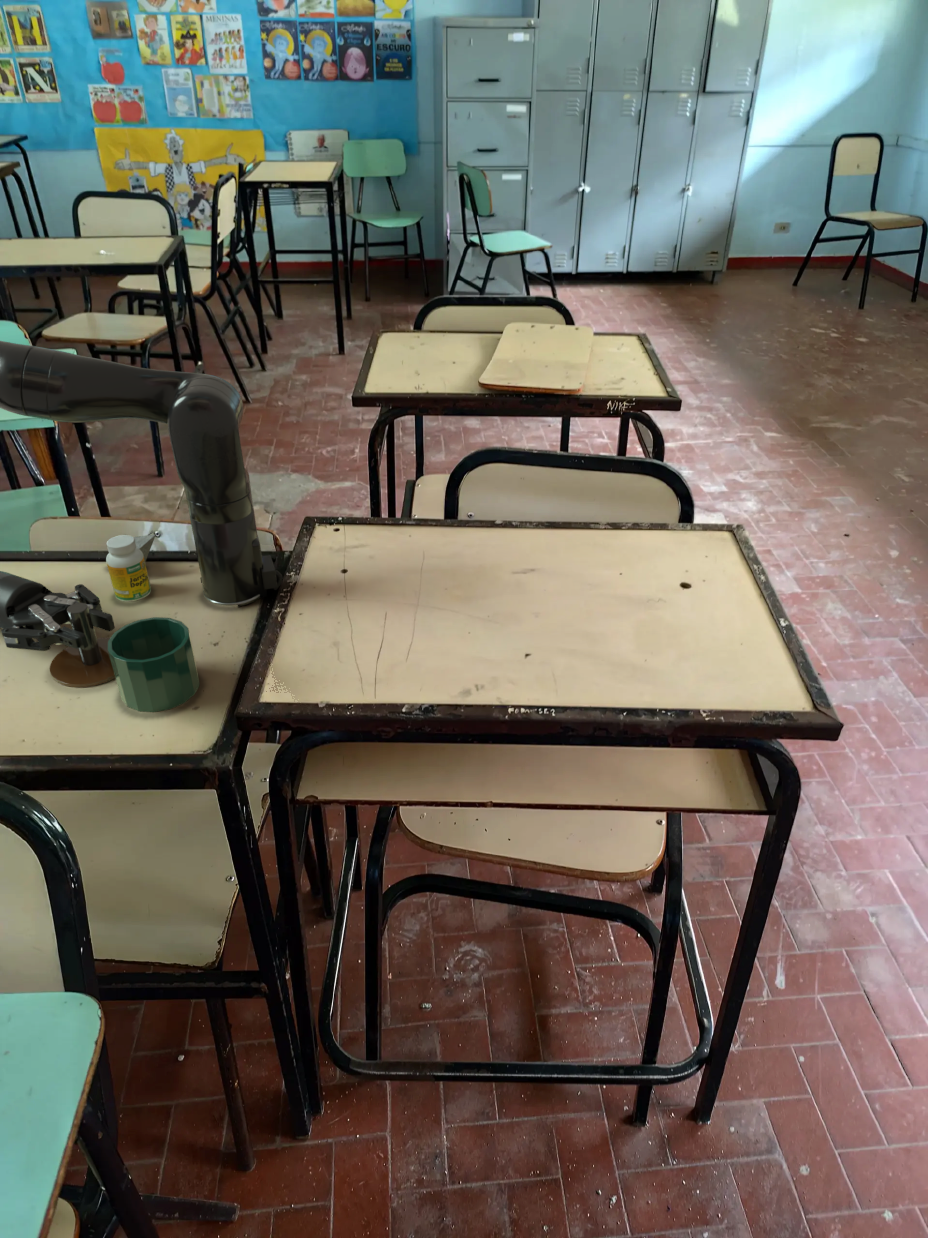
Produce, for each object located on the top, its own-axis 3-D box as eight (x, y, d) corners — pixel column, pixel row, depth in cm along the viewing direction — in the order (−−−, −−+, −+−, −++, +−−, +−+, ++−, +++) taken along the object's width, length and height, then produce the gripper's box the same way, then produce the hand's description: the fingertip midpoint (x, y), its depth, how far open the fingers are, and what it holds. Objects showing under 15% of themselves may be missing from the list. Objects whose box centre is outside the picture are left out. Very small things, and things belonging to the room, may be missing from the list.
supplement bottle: (131, 583, 134) (118, 529, 129) (159, 590, 133) (147, 536, 127) (108, 600, 130) (93, 545, 125) (136, 607, 129) (122, 552, 123)
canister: (196, 663, 117) (186, 611, 112) (202, 706, 109) (191, 653, 105) (121, 676, 114) (107, 624, 110) (122, 721, 107) (107, 668, 102)
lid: (134, 637, 122) (120, 580, 117) (136, 682, 114) (120, 622, 108) (53, 651, 119) (35, 593, 114) (49, 697, 111) (29, 637, 105)
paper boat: (85, 559, 138) (124, 524, 143) (115, 588, 141) (151, 552, 146) (113, 544, 129) (153, 507, 135) (144, 575, 132) (182, 537, 137)
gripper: (-48, 603, 110) (47, 637, 104) (41, 555, 121) (132, 583, 115) (-30, 649, 115) (63, 685, 108) (55, 599, 125) (143, 629, 119)
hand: (98, 632), depth 112 cm, fingers open, 4 cm apart
